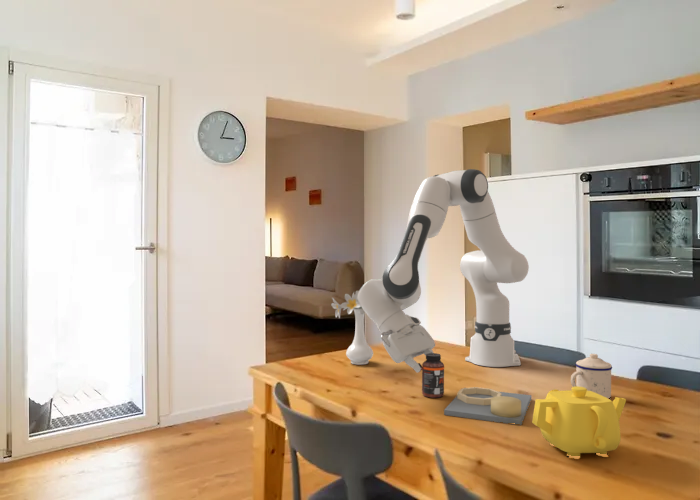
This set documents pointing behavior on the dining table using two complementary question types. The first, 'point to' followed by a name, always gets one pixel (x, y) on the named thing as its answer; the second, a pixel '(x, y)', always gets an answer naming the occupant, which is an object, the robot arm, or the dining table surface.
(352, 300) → the flower vase
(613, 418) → the teapot
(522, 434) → the dining table surface
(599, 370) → the teacup with lid
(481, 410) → the carrier plate
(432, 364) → the supplement bottle
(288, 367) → the dining table surface
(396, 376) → the dining table surface
